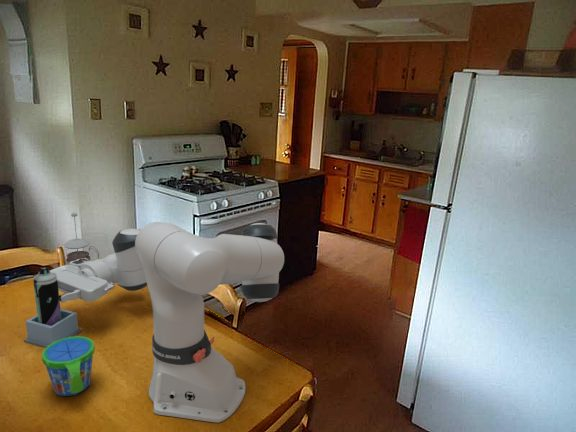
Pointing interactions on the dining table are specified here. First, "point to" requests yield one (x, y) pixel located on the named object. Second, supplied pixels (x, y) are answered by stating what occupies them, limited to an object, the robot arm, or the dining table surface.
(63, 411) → the dining table surface
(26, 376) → the dining table surface
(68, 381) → the snack cup
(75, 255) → the french press
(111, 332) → the dining table surface
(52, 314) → the spray can
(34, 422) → the dining table surface
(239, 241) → the robot arm
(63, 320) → the collar stand
